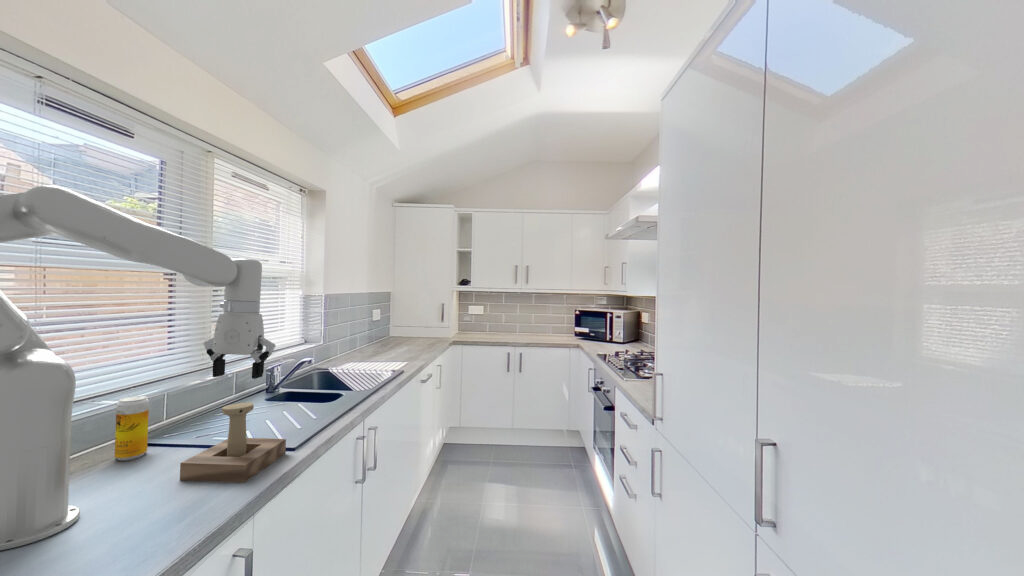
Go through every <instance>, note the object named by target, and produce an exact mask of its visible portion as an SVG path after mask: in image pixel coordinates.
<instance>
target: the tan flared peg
mask: <svg viewBox="0 0 1024 576" xmlns="http://www.w3.org/2000/svg"><path fill="white" fill-rule="evenodd" d="M254 407H255V405H254V403H253V402H239V403H238V402H237V403H233V404H228V405H225V406H223V407H222V409H221V410H222V414H223V415H225V416H228V417H229V418H228V419H229V422H228V423H229V424H228V434H227V439H228V442H227V457H241V456H243V455H245V454H246V445H247V438H248V437H247V415H248V413H250V412H252V411H253V410H254Z"/></svg>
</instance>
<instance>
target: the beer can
mask: <svg viewBox="0 0 1024 576" xmlns="http://www.w3.org/2000/svg"><path fill="white" fill-rule="evenodd" d="M149 405H150V400H149V399H148V396H146V395H133V396H126V397H122V398H120V399H119V400H118V402H117V403H116V407H115V408H116V410H115V411H116V412H115V437H114V438H115V440H114V458H116V459H117V461H129V460H134V459H139V458H140V457H143V456H144V455H145V453H147V451H148V437H149V435H148V434H149V414H150V413H149V409H150V406H149Z"/></svg>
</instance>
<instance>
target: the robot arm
mask: <svg viewBox="0 0 1024 576" xmlns="http://www.w3.org/2000/svg"><path fill="white" fill-rule="evenodd" d="M52 235H57V236H59V237H62V238H64V239H67V240H70V241H73V242H75V243H79V244H81V245H84V246H86V247H90V248H92V249H95V250H98V251H100V252H103V253H105V254H108V255H110V256H113V257H116V258H119V259H121V260H126V261H129V262H133V263H137V264H138V263H139V264H145V265H150V266H155V267H160V268H163V269H166V270H169V271H172V272H175V273H178V274H181V275H182V276H183V278H184V279H185V280H186V281H187V282H188V283H190V284H191V285H194V286H197V287H203V288H204V287H208V288H209V287H213V288H214V287H215V288H218V287H219V288H222V287H224V294H223V295H224V296H223V302H220V303H219V308H220V309H222V311H223V312H221V313H219V314H218V317H217V319H216V320H217V321H216V324H215V328H214V333H213V337H212V338H210V339H208V340H205V341H204V342H203V346H204V348H205V350H206V354H207V355H208V356H209V357H210V361H212V377H213V378H217V377H218V378H219V377H221V376H224V375H225V372H226V359H225V357H226V355H232V356H235V355H236V356H248V355H250V356H251V358H252V359H253V360H254V361H255V362H254V361H253V363H252V365H251V366H252V367H251V379H252V380H256V379H258V378H262V377H263V376H264V375H263V374H264V369H265V362H266V361H267V359H269V357H270V356H272V355H273V353H272V352H274V350H275V348H276V344H275V343H274V342H272V341H270V340H269V339H268V338H265V328H264V320H263V314H262V313H260V311H261V293H262V292H261V289H262V277H263V276H262V273H263V265H262V263H261V261H259V260H257V259H252V258H240V257H239V258H231V257H229V256H228V255H227V254H225V253H223V252H220V251H218V250H216V249H214V248H211V247H209V246H207V245H205V244H203V243H200V242H198V241H196V240H193V239H191V238H188V237H185V236H183V235H179V234H177V233H173V232H171V231H170V230H169V231H168V230H166V229H163V228H161V227H158V226H155V225H153V224H149V223H147V222H144V221H142V220H140V219H138V218H134V217H132V216H131V215H128V214H127V213H123V212H121V211H119V210H116V209H114V208H112V207H110V206H108V205H105V204H103V203H101V202H98V201H96V200H94V199H91V198H89V197H87V196H84V195H83V194H80V193H78V192H76V191H73V190H71V189H68V188H65V187H61V186H57V185H51V184H49V185H47V184H46V185H39V186H36V187H32V188H30V189H28V190H27V191H24V192H20V193H19V192H18V193H9V194H1V195H0V243H8V242H14V241H21V240H28V239H29V240H30V239H33V238H39V237H45V236H46V237H47V236H52ZM264 347H265V350H264V351H263V349H264ZM76 380H77V379H76V375H75V371H74V369H73V367H72V366H71V365H70V363H68V362H67V361H66V360H65V359H63V358H61V357H59V356H57V354H55V352H54V351H53V350H52V349H51V348H50V346H48V344H47V343H46V342H45V341H44V340H43V338H42V337H41V335H39V333H38V332H37V331H36V330H35V329H34V328H33V326H32V325H31V323H30V321H29V318H28V317H27V316H26V314H25V313H24V312H23V311H21V310H20V309H19V308H17V306H16V305H14V303H12V302H11V300H10V299H9V298H8V297H7V296H6V295H5V294H4V293H3V292H2V290H1V289H0V551H4V550H9V549H13V548H15V549H16V548H18V547H22V546H26V545H29V544H31V543H35V542H38V541H41V540H44V539H46V538H49V537H51V536H53V535H55V534H58V533H60V532H62V531H64V530H65V529H67V528H69V527H70V526H72V525H73V524H74V523H75V522H77V520H78V519H79V518H80V515H81V510H80V508H79V507H78V506H74V505H71V504H70V505H69V495H70V494H69V493H70V474H71V473H70V472H71V471H70V467H71V466H70V465H71V443H72V442H71V441H72V435H71V432H72V419H73V418H72V416H73V407H74V400H75V395H76V394H75V393H76V385H77V383H76Z"/></svg>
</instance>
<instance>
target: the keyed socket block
mask: <svg viewBox="0 0 1024 576" xmlns="http://www.w3.org/2000/svg"><path fill="white" fill-rule="evenodd" d="M246 438H247V445H246V454H245V455H243V456H241V457H227V442H228V438H227V439H225V440H223V441H221V442H219V443H217V444H214V445H213V446H211V447H208V448H207V449H205V450H203V451H201V452H199V453H197V454H195V455H193V456H191V457H189V458H187V459H185V460H184V461H181V462H180V463H179V464H180V466H179V467H180V468H179V481H183V482H215V483H221V482H222V483H246V482H247V481H249V480H251V479H252V478H253V477H255V476H256V475H258V474H259V473H261V472H262V471H264V470H265V469H266V468H269V466H270V465H272V464H273V463H275V462H276V461H278V460H279V459H280V458H282V457H283V456H285V455H286V450H287V448H286V447H287V438H267V437H266V438H264V437H262V438H261V437H246Z"/></svg>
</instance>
